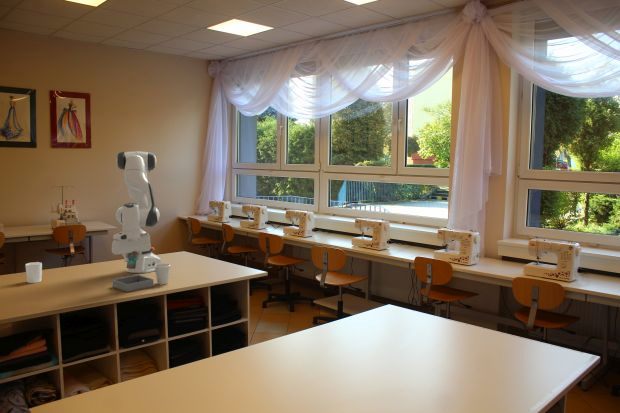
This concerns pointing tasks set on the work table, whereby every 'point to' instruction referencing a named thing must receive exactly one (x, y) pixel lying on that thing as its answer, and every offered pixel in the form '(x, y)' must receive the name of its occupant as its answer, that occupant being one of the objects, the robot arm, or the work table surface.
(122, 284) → the bin
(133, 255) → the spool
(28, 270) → the white cup
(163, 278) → the dixie cup
